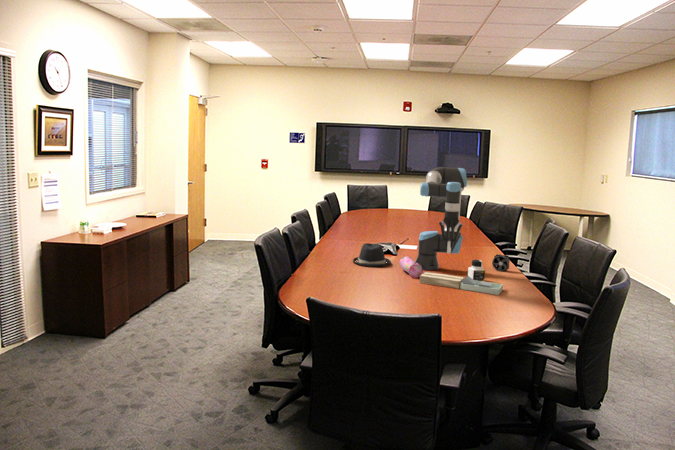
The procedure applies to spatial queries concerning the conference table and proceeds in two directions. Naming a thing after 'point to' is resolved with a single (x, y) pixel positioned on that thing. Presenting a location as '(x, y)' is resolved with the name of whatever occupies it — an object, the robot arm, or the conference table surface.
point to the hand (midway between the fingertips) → (448, 252)
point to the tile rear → (469, 281)
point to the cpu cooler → (501, 262)
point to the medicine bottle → (476, 271)
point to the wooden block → (441, 280)
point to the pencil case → (411, 267)
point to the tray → (483, 288)
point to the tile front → (485, 284)
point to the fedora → (372, 256)
